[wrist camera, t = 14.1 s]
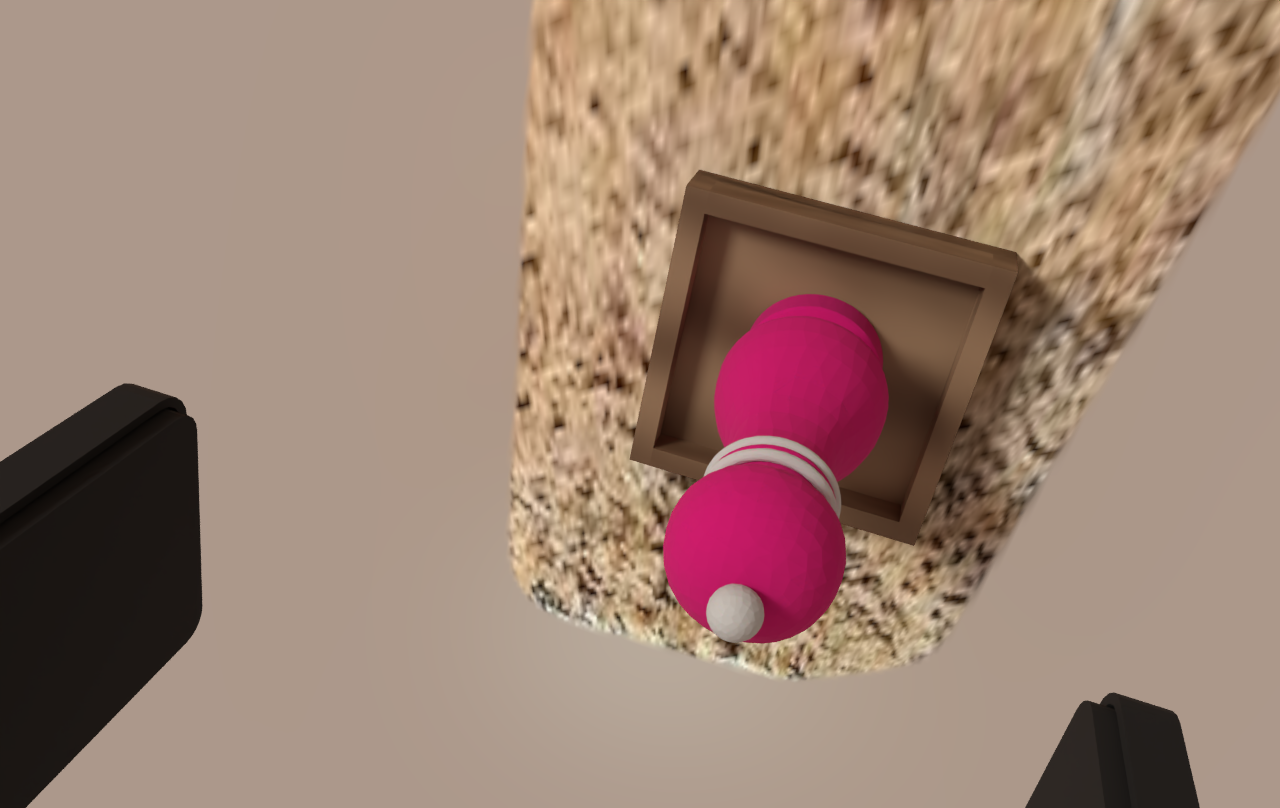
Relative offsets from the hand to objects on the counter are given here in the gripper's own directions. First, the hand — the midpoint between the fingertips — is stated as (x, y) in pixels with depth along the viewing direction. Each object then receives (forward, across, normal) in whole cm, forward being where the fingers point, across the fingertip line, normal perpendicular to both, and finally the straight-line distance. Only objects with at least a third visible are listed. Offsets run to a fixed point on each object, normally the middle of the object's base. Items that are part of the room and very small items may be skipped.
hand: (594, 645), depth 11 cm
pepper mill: (+38, -1, +14) cm, 40 cm away
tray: (+38, -1, +14) cm, 41 cm away
